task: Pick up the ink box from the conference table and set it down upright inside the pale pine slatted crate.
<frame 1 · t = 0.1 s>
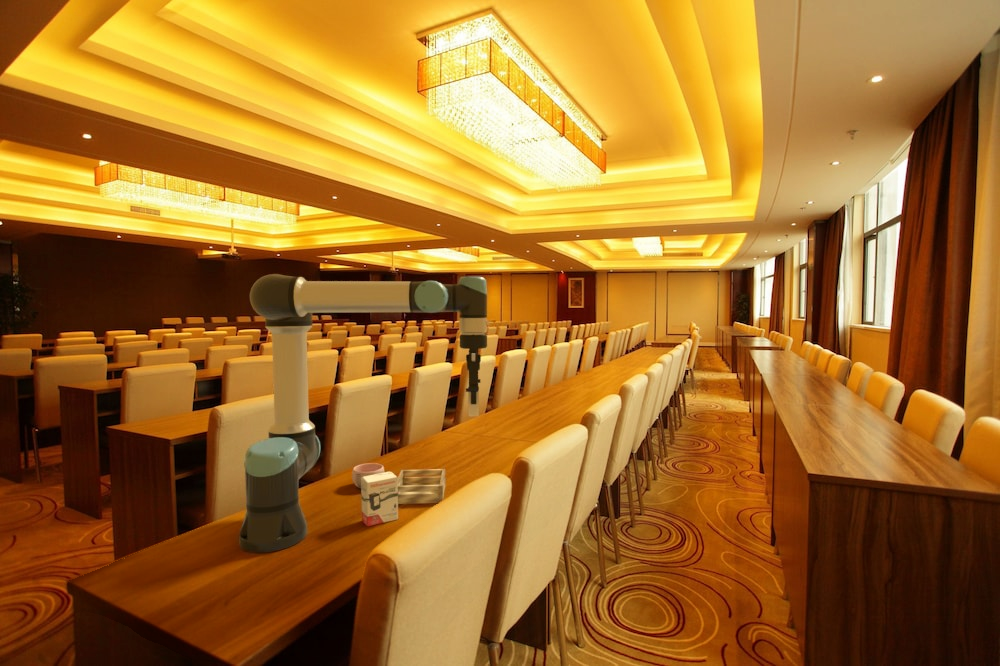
hand: (473, 411, 135), 28 cm above the table, fingers open, 13 cm apart
pink rounded hollow piece: (370, 485, 157), on the table
ink box: (380, 520, 131), on the table
crate: (421, 493, 149), on the table
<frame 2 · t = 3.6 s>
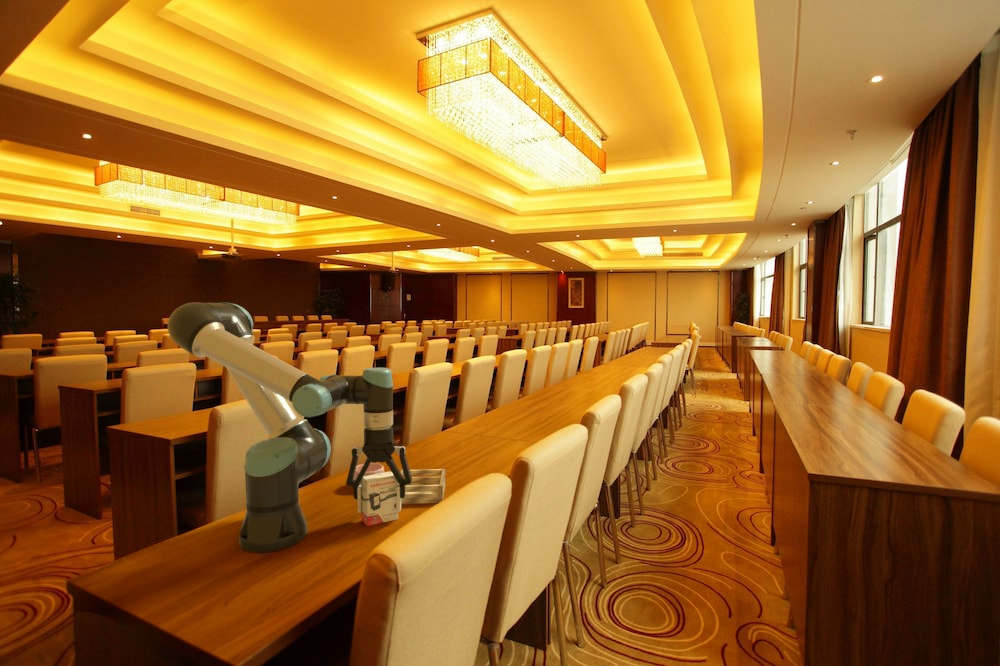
hand: (379, 510, 131), 3 cm above the table, fingers closed on ink box, 9 cm apart
ink box: (380, 520, 131), on the table, touching gripper
everything else where it was.
when the fingers open (6 cm above the table, at t = 9.5 s): ink box drops 2 cm, resting on crate.
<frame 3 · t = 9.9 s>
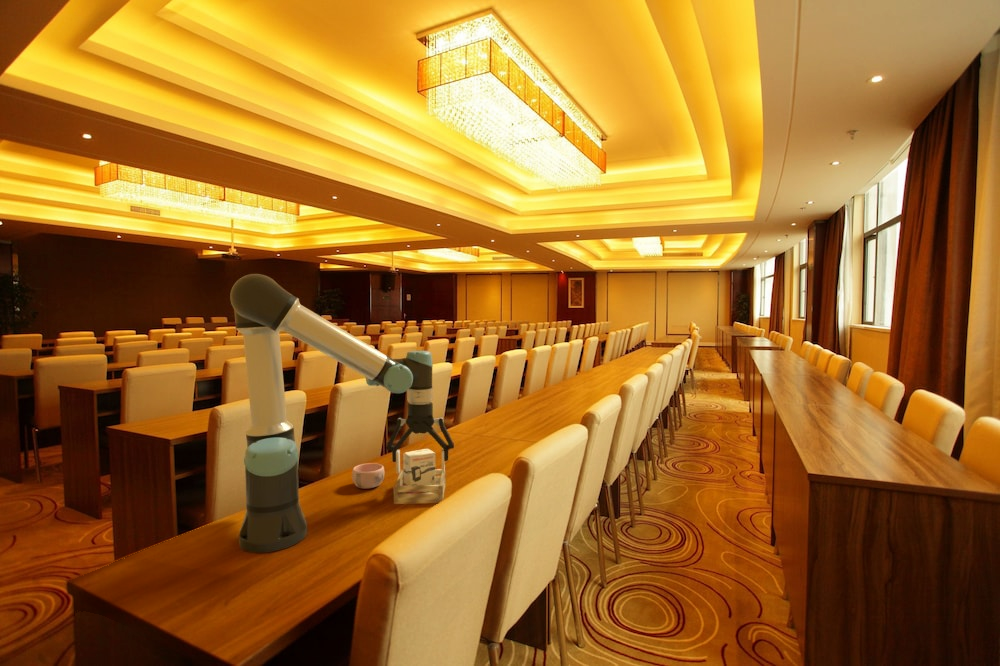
hand: (420, 471, 149), 7 cm above the table, fingers open, 13 cm apart
ink box: (419, 491, 149), point 1 cm above the table, touching crate
everything else where it was.
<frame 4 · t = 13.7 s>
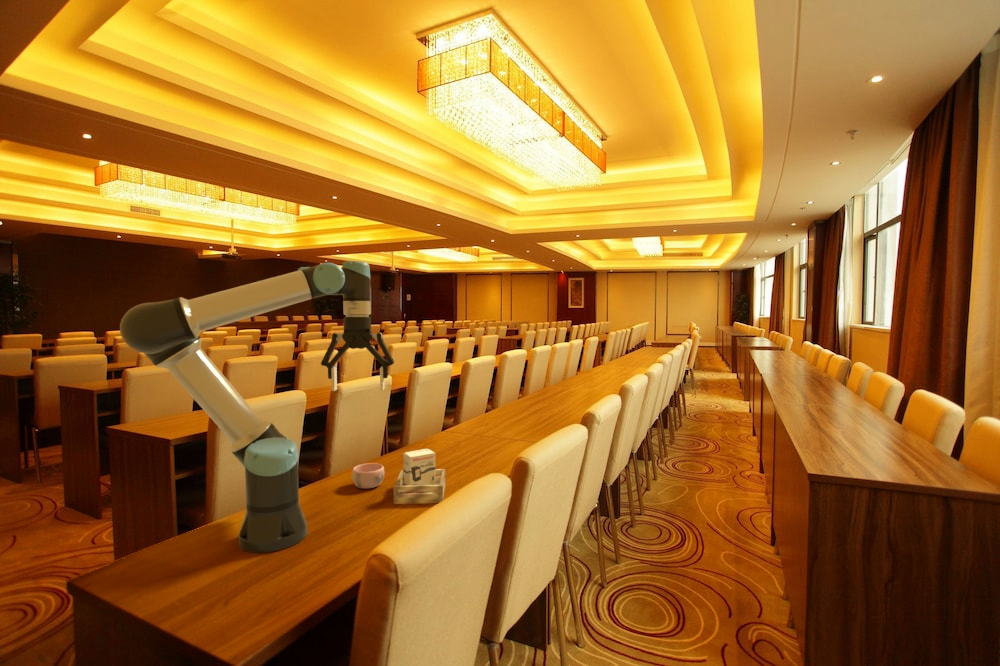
hand: (358, 390, 142), 33 cm above the table, fingers open, 13 cm apart
nothing on the table moved.
at the end: ink box inside the target area on the crate (0.4 cm from its centre), point 0.8 cm above the crate's base; ink box tilted 0°; the gripper is holding nothing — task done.
